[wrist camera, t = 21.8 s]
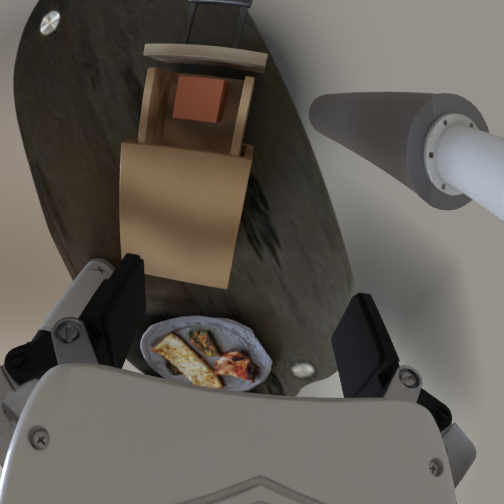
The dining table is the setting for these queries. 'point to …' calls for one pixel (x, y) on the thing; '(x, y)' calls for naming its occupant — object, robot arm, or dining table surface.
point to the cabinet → (182, 209)
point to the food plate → (206, 353)
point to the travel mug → (77, 295)
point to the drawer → (239, 91)
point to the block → (200, 99)
